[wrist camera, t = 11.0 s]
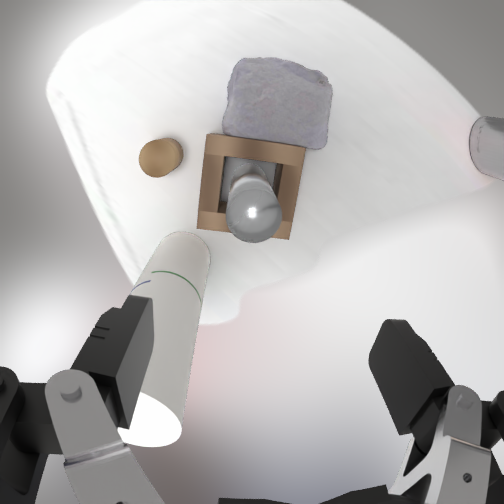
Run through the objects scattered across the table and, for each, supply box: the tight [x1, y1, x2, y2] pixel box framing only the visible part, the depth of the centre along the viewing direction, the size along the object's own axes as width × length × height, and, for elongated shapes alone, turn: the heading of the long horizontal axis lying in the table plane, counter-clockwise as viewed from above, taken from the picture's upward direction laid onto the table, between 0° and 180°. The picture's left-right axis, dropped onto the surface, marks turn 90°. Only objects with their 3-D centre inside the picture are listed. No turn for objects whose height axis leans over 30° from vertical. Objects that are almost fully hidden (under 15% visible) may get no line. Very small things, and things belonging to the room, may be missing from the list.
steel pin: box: [226, 163, 282, 243], centre depth 28 cm, size 4×4×15 cm
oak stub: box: [139, 138, 183, 177], centre depth 32 cm, size 4×4×4 cm
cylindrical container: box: [117, 232, 210, 447], centre depth 28 cm, size 7×7×25 cm
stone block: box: [222, 58, 333, 149], centre depth 31 cm, size 12×5×10 cm
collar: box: [197, 133, 306, 240], centre depth 33 cm, size 10×10×5 cm
